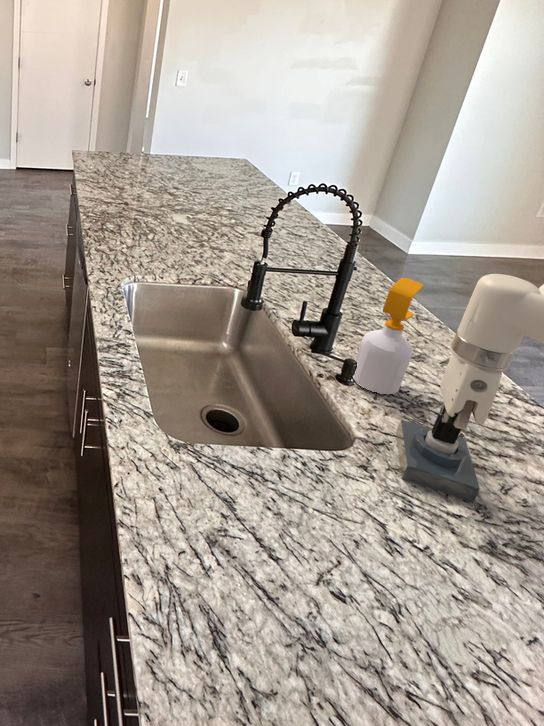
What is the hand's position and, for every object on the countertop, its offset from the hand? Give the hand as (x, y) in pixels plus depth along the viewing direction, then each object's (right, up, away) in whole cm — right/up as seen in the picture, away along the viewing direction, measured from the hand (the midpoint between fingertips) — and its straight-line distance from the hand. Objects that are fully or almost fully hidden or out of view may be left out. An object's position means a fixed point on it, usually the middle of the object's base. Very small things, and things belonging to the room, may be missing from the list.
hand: (442, 438), depth 93 cm
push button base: (0, -6, +2) cm, 6 cm away
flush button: (0, -2, +1) cm, 2 cm away
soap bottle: (+3, +4, +24) cm, 24 cm away
